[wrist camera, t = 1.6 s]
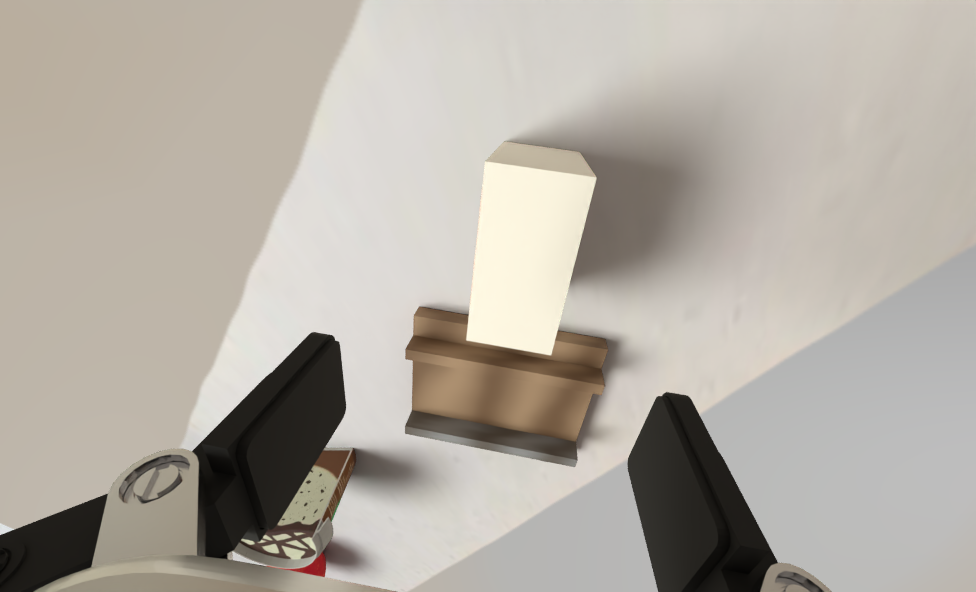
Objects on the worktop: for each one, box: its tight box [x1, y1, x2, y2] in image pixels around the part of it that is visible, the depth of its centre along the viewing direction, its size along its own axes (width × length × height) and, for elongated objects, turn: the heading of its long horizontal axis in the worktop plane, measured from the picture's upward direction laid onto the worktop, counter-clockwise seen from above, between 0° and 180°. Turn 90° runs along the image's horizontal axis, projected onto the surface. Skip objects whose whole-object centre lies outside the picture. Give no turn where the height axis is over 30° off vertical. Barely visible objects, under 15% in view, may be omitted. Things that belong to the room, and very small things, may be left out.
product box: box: [466, 141, 597, 355], centre depth 22 cm, size 5×10×9 cm, turn 173°
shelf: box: [405, 307, 608, 467], centre depth 33 cm, size 16×14×4 cm
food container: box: [233, 448, 356, 569], centre depth 40 cm, size 12×6×10 cm, turn 100°
